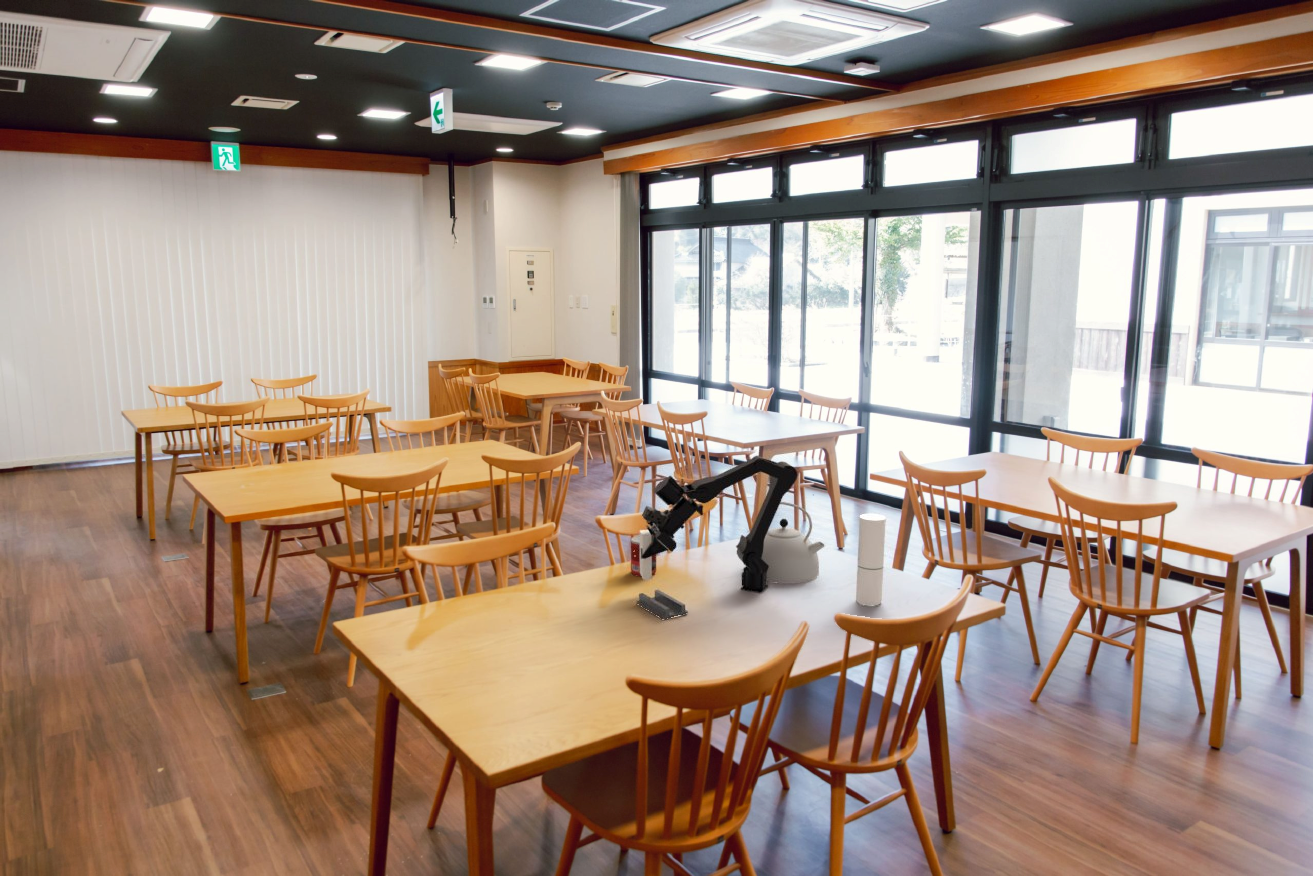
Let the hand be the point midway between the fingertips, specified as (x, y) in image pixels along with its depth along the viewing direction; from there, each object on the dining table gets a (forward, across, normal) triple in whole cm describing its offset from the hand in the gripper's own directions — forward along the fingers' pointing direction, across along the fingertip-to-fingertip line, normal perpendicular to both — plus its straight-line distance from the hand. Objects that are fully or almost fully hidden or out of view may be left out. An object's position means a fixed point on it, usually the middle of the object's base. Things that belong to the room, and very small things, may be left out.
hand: (640, 554), depth 259 cm
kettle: (-25, -13, +43) cm, 52 cm away
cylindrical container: (-36, +16, +54) cm, 67 cm away
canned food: (+6, -20, +12) cm, 24 cm away
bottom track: (+6, +12, +12) cm, 18 cm away
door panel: (+4, 0, +6) cm, 7 cm away
